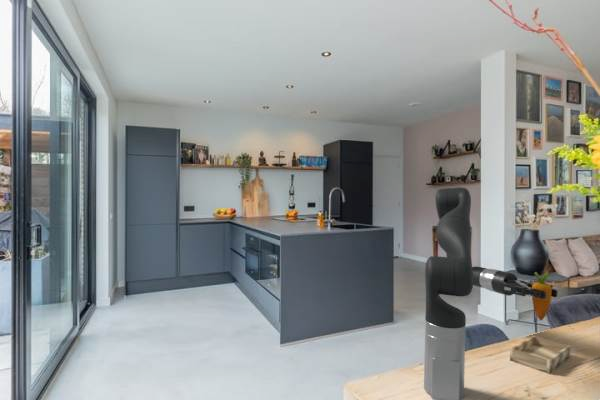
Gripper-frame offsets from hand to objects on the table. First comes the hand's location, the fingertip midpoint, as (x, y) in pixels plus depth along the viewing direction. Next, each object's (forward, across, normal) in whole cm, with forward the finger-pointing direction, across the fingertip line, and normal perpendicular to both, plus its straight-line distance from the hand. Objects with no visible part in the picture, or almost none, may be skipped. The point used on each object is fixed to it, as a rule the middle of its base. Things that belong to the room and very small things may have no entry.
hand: (550, 294), depth 104 cm
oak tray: (-2, 0, +20) cm, 20 cm away
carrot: (-3, 0, +9) cm, 9 cm away
